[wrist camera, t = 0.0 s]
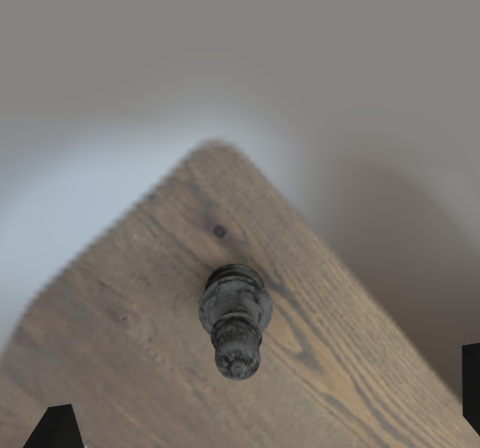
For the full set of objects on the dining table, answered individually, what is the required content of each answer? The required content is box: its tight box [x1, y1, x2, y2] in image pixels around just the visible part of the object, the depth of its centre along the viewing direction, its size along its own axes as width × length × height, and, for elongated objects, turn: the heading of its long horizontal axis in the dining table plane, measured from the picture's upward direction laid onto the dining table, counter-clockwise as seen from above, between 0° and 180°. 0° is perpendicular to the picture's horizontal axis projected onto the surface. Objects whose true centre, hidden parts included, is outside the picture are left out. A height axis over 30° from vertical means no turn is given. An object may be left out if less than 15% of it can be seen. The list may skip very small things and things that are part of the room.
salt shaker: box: [198, 264, 272, 380], centre depth 28 cm, size 6×6×12 cm
